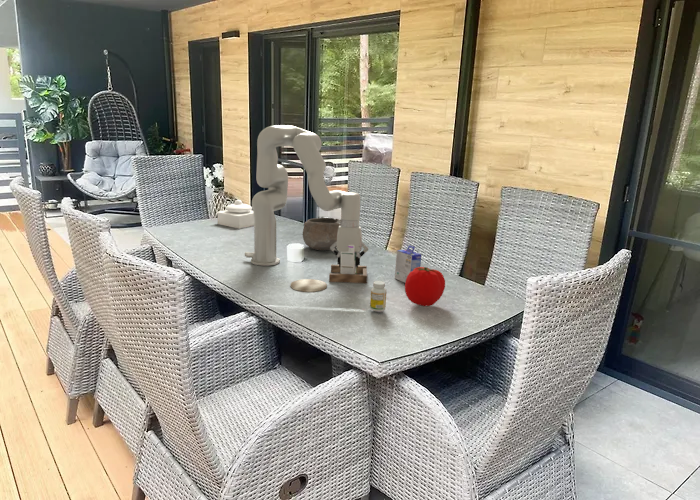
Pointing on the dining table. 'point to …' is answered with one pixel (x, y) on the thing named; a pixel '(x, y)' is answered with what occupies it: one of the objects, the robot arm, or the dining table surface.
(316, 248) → the clay pot
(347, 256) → the syrup box
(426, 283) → the tomato
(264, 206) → the robot arm
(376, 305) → the supplement bottle
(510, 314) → the dining table surface
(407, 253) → the ink cartridge box
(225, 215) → the butter dish
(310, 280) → the pad
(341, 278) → the shelf rack
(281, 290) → the dining table surface
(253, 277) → the dining table surface
